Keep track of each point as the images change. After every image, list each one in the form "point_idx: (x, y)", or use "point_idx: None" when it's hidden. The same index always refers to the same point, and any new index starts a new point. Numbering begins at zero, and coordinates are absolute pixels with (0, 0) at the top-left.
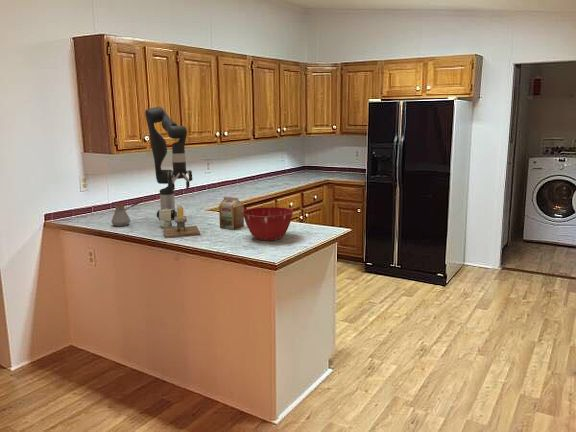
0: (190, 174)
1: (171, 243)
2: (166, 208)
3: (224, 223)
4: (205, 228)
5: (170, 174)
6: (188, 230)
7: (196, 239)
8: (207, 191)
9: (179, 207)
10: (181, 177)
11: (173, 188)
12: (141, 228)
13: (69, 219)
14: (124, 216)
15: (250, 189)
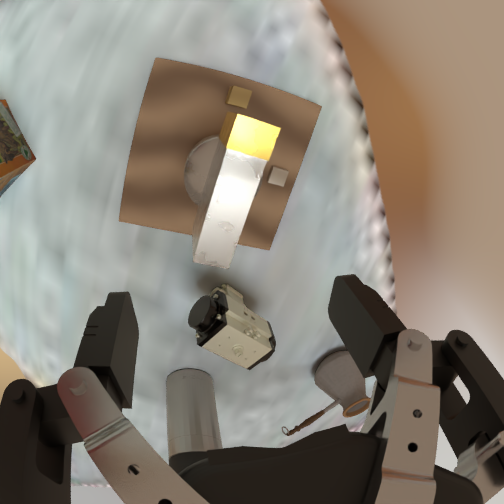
0: (11, 500)
1: (326, 15)
2: (240, 352)
3: (10, 142)
4: (87, 189)
5: None
6: (185, 139)
7: (207, 4)
8: (81, 482)
9: (248, 168)
10: (263, 469)
11: (359, 283)
12: (313, 311)
13: None
14: (345, 373)
15: None
